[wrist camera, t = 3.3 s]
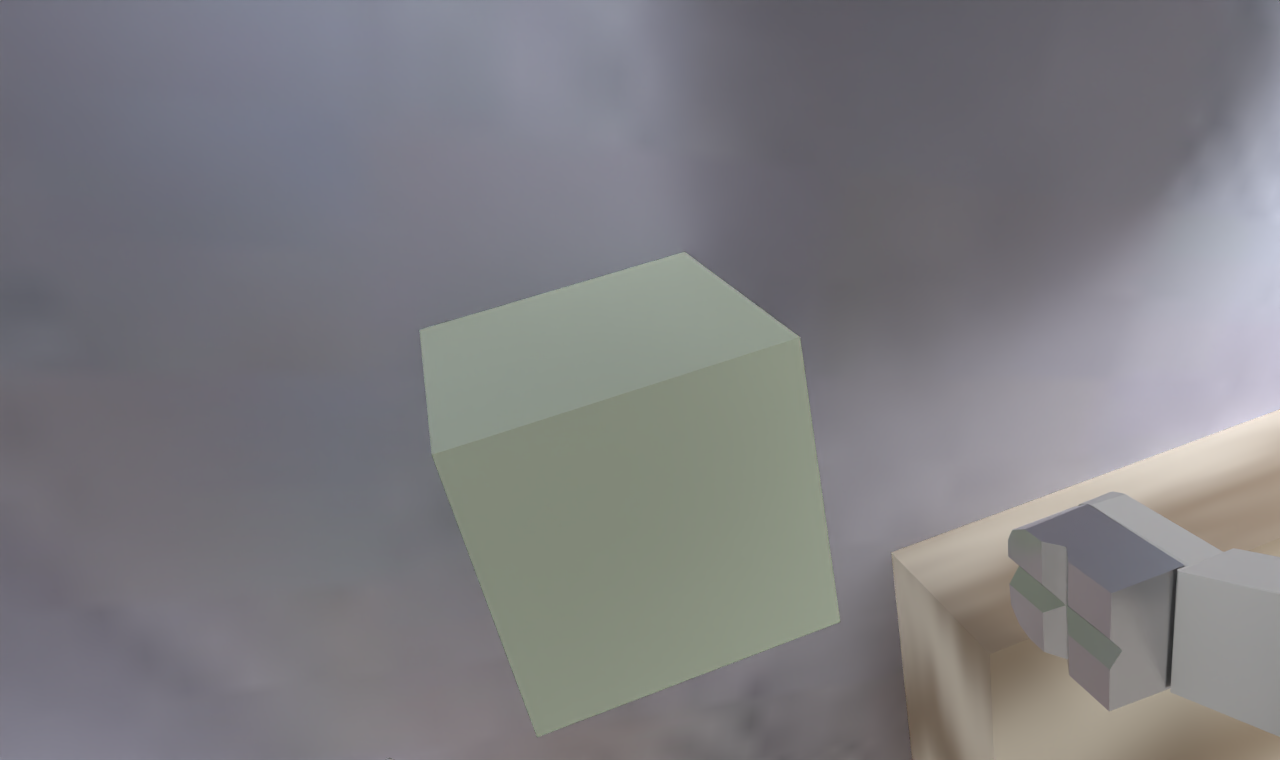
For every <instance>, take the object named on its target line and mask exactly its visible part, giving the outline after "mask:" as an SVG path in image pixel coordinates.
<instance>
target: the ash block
mask: <svg viewBox="0 0 1280 760" xmlns="http://www.w3.org/2000/svg"><path fill="white" fill-rule="evenodd" d="M1112 491H1113V492H1119V493H1123V494H1126V495H1128V496H1129V497H1131V498H1133V499H1135V500H1136V501H1138V502H1140V503H1141V504H1143V505H1145V506H1146V507H1148V508H1150V509H1151V510H1153V511H1155V512H1157V513H1158V514H1160V515H1162V516H1163V517H1165V518H1167V519H1168V520H1170V521H1172V522H1173V523H1175V524H1177V525H1179V526H1180V527H1182V528H1184V529H1185V530H1187V531H1189V532H1190V533H1192V534H1194V535H1195V536H1197V537H1199V538H1201V539H1202V540H1204V541H1206V542H1207V543H1209V544H1211V545H1212V546H1214V547H1216V548H1217V549H1219V550H1221V551H1223V552H1225V551H1228V550H1230V549H1233V548H1235V549H1241V550H1246V551H1251V552H1256V553H1261V554H1266V555H1272V556H1277V557H1280V409H1279V410H1277V411H1274V412H1271V413H1268V414H1266V415H1263V416H1260V417H1258V418H1255V419H1252V420H1249V421H1247V422H1244V423H1241V424H1239V425H1236V426H1233V427H1230V428H1228V429H1225V430H1222V431H1220V432H1217V433H1214V434H1211V435H1209V436H1206V437H1203V438H1200V439H1198V440H1195V441H1192V442H1190V443H1187V444H1184V445H1181V446H1179V447H1176V448H1173V449H1171V450H1168V451H1165V452H1162V453H1160V454H1157V455H1154V456H1152V457H1149V458H1146V459H1143V460H1141V461H1138V462H1135V463H1133V464H1130V465H1127V466H1124V467H1122V468H1119V469H1116V470H1114V471H1111V472H1108V473H1105V474H1103V475H1100V476H1097V477H1095V478H1092V479H1089V480H1086V481H1084V482H1081V483H1078V484H1076V485H1073V486H1070V487H1067V488H1065V489H1062V490H1059V491H1057V492H1054V493H1051V494H1048V495H1046V496H1043V497H1040V498H1037V499H1035V500H1032V501H1029V502H1027V503H1024V504H1021V505H1018V506H1016V507H1013V508H1010V509H1008V510H1005V511H1002V512H999V513H997V514H994V515H991V516H989V517H986V518H983V519H980V520H978V521H975V522H972V523H970V524H967V525H964V526H961V527H959V528H956V529H953V530H951V531H948V532H945V533H942V534H940V535H937V536H934V537H932V538H929V539H926V540H923V541H921V542H918V543H915V544H913V545H910V546H907V547H904V548H902V549H899V550H896V551H894V552H891V556H892V566H893V575H894V585H895V595H896V605H897V615H898V625H899V635H900V645H901V655H902V665H903V675H904V685H905V695H906V705H907V715H908V725H909V735H910V745H911V755H912V760H1280V737H1279V736H1276V735H1274V734H1271V733H1269V732H1266V731H1264V730H1262V729H1259V728H1257V727H1254V726H1252V725H1249V724H1247V723H1244V722H1242V721H1240V720H1237V719H1235V718H1232V717H1230V716H1227V715H1225V714H1222V713H1220V712H1218V711H1215V710H1213V709H1210V708H1208V707H1205V706H1203V705H1200V704H1198V703H1196V702H1193V701H1191V700H1188V699H1186V698H1183V697H1181V696H1178V695H1176V694H1174V693H1171V692H1170V689H1167V690H1165V691H1162V692H1159V693H1157V694H1154V695H1151V696H1149V697H1146V698H1144V699H1141V700H1138V701H1136V702H1133V703H1130V704H1128V705H1125V706H1122V707H1120V708H1117V709H1114V710H1112V711H1108V710H1107V709H1106V708H1105V707H1104V706H1103V705H1101V704H1100V703H1099V702H1098V701H1097V700H1096V699H1095V698H1094V697H1093V696H1092V695H1090V694H1089V693H1088V692H1087V691H1086V690H1085V689H1084V688H1083V687H1082V686H1080V685H1079V684H1078V683H1077V682H1076V681H1075V680H1074V679H1073V678H1072V677H1071V676H1069V670H1068V663H1067V659H1064V658H1061V657H1058V656H1055V655H1052V654H1049V653H1046V652H1043V651H1042V650H1041V649H1040V648H1039V647H1038V646H1037V645H1036V644H1035V643H1034V642H1033V641H1032V640H1031V639H1030V638H1029V637H1028V635H1027V634H1026V633H1025V631H1024V630H1023V629H1022V627H1021V626H1020V624H1019V622H1018V620H1017V617H1016V615H1015V613H1014V610H1013V608H1012V605H1011V597H1010V586H1009V584H1010V582H1011V580H1012V578H1013V576H1014V574H1015V572H1016V571H1017V569H1018V567H1019V566H1018V565H1017V564H1016V563H1015V562H1014V561H1013V560H1012V559H1011V558H1009V557H1008V539H1009V536H1010V534H1011V531H1012V530H1013V529H1016V528H1019V527H1021V526H1024V525H1027V524H1029V523H1032V522H1034V521H1037V520H1040V519H1042V518H1045V517H1048V516H1050V515H1053V514H1056V513H1058V512H1061V511H1064V510H1066V509H1069V508H1072V507H1075V506H1078V505H1079V504H1081V503H1083V502H1086V501H1088V500H1091V499H1094V498H1096V497H1099V496H1101V495H1104V494H1107V493H1109V492H1112Z"/></svg>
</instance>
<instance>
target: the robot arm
mask: <svg viewBox="0 0 1280 760" xmlns="http://www.w3.org/2000/svg"><path fill="white" fill-rule="evenodd" d="M1008 557H1009V558H1011V559H1012V560H1013V561H1014V562H1015V563H1016V564H1017V565H1018V566H1019V567H1018V569H1017V571H1016V572H1015V574H1014V576H1013V578H1012V580H1011V582H1010V584H1009V586H1010V597H1011V605H1012V608H1013V610H1014V613H1015V615H1016V617H1017V620H1018V622H1019V624H1020V626H1021V627H1022V629H1023V630H1024V631H1025V633H1026V634H1027V635H1028V637H1029V638H1030V639H1031V640H1032V641H1033V642H1034V643H1035V644H1036V645H1037V646H1038V647H1039V648H1040V649H1041V650H1042V651H1043V652H1046V653H1049V654H1052V655H1055V656H1058V657H1061V658H1064V659H1067V663H1068V670H1069V676H1071V677H1072V678H1073V679H1074V680H1075V681H1076V682H1077V683H1078V684H1079V685H1080V686H1082V687H1083V688H1084V689H1085V690H1086V691H1087V692H1088V693H1089V694H1090V695H1092V696H1093V697H1094V698H1095V699H1096V700H1097V701H1098V702H1099V703H1100V704H1101V705H1103V706H1104V707H1105V708H1106V709H1107V710H1108V711H1112V710H1114V709H1117V708H1120V707H1122V706H1125V705H1128V704H1130V703H1133V702H1136V701H1138V700H1141V699H1144V698H1146V697H1149V696H1151V695H1154V694H1157V693H1159V692H1162V691H1165V690H1167V689H1170V692H1171V693H1174V694H1176V695H1178V696H1181V697H1183V698H1186V699H1188V700H1191V701H1193V702H1196V703H1198V704H1200V705H1203V706H1205V707H1208V708H1210V709H1213V710H1215V711H1218V712H1220V713H1222V714H1225V715H1227V716H1230V717H1232V718H1235V719H1237V720H1240V721H1242V722H1244V723H1247V724H1249V725H1252V726H1254V727H1257V728H1259V729H1262V730H1264V731H1266V732H1269V733H1271V734H1274V735H1276V736H1279V737H1280V557H1277V556H1272V555H1266V554H1261V553H1256V552H1251V551H1246V550H1241V549H1235V548H1233V549H1230V550H1228V551H1225V552H1223V551H1221V550H1219V549H1217V548H1216V547H1214V546H1212V545H1211V544H1209V543H1207V542H1206V541H1204V540H1202V539H1201V538H1199V537H1197V536H1195V535H1194V534H1192V533H1190V532H1189V531H1187V530H1185V529H1184V528H1182V527H1180V526H1179V525H1177V524H1175V523H1173V522H1172V521H1170V520H1168V519H1167V518H1165V517H1163V516H1162V515H1160V514H1158V513H1157V512H1155V511H1153V510H1151V509H1150V508H1148V507H1146V506H1145V505H1143V504H1141V503H1140V502H1138V501H1136V500H1135V499H1133V498H1131V497H1129V496H1128V495H1126V494H1123V493H1119V492H1113V491H1112V492H1109V493H1107V494H1104V495H1101V496H1099V497H1096V498H1094V499H1091V500H1088V501H1086V502H1083V503H1081V504H1079V505H1078V506H1075V507H1072V508H1069V509H1066V510H1064V511H1061V512H1058V513H1056V514H1053V515H1050V516H1048V517H1045V518H1042V519H1040V520H1037V521H1034V522H1032V523H1029V524H1027V525H1024V526H1021V527H1019V528H1016V529H1013V530H1012V531H1011V534H1010V536H1009V539H1008ZM385 760H394V759H392V758H388V759H385Z"/></svg>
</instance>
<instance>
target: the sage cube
mask: <svg viewBox="0 0 1280 760" xmlns="http://www.w3.org/2000/svg"><path fill="white" fill-rule="evenodd" d="M419 331H420V342H421V352H422V362H423V372H424V383H425V393H426V403H427V414H428V424H429V434H430V445H431V455H432V458H433V460H434V463H435V466H436V468H437V471H438V474H439V476H440V479H441V482H442V484H443V487H444V490H445V492H446V495H447V498H448V500H449V503H450V506H451V508H452V511H453V514H454V516H455V519H456V522H457V524H458V527H459V530H460V533H461V535H462V538H463V541H464V543H465V546H466V549H467V551H468V554H469V557H470V559H471V562H472V565H473V567H474V570H475V573H476V575H477V578H478V581H479V583H480V586H481V589H482V591H483V594H484V597H485V599H486V602H487V605H488V607H489V610H490V613H491V616H492V618H493V621H494V624H495V626H496V629H497V632H498V634H499V637H500V640H501V642H502V645H503V648H504V650H505V653H506V656H507V658H508V661H509V664H510V666H511V669H512V672H513V674H514V677H515V680H516V682H517V685H518V688H519V691H520V693H521V696H522V699H523V701H524V704H525V707H526V709H527V712H528V715H529V717H530V720H531V723H532V725H533V728H534V731H535V733H536V736H537V737H540V736H543V735H545V734H548V733H551V732H553V731H556V730H558V729H561V728H564V727H566V726H569V725H572V724H574V723H577V722H579V721H582V720H585V719H587V718H590V717H593V716H595V715H598V714H600V713H603V712H606V711H608V710H611V709H614V708H616V707H619V706H621V705H624V704H627V703H629V702H632V701H635V700H637V699H640V698H642V697H645V696H648V695H650V694H653V693H656V692H658V691H661V690H663V689H666V688H669V687H671V686H674V685H677V684H679V683H682V682H684V681H687V680H690V679H692V678H695V677H698V676H700V675H703V674H705V673H708V672H711V671H713V670H716V669H719V668H721V667H724V666H726V665H729V664H732V663H734V662H737V661H740V660H742V659H745V658H747V657H750V656H753V655H755V654H758V653H761V652H763V651H766V650H768V649H771V648H774V647H776V646H779V645H782V644H784V643H787V642H789V641H792V640H795V639H797V638H800V637H803V636H805V635H808V634H811V633H813V632H816V631H818V630H821V629H824V628H826V627H829V626H832V625H834V624H837V623H839V622H840V616H839V609H838V602H837V595H836V588H835V580H834V573H833V566H832V559H831V552H830V545H829V538H828V531H827V524H826V517H825V510H824V503H823V496H822V489H821V482H820V474H819V467H818V460H817V453H816V446H815V439H814V432H813V425H812V418H811V411H810V404H809V397H808V390H807V383H806V375H805V368H804V361H803V354H802V347H801V340H800V337H799V336H798V335H796V334H795V333H794V332H792V331H791V330H790V329H788V328H787V327H786V326H784V325H783V324H782V323H780V322H779V321H778V320H776V319H775V318H773V317H772V316H771V315H769V314H768V313H767V312H765V311H764V310H763V309H761V308H760V307H759V306H757V305H756V304H755V303H753V302H752V301H750V300H749V299H748V298H746V297H745V296H744V295H742V294H741V293H740V292H738V291H737V290H736V289H734V288H733V287H732V286H730V285H729V284H727V283H726V282H725V281H723V280H722V279H721V278H719V277H718V276H717V275H715V274H714V273H713V272H711V271H710V270H709V269H707V268H706V267H704V266H703V265H702V264H700V263H699V262H698V261H696V260H695V259H694V258H692V257H691V256H690V255H688V254H687V253H686V252H682V253H678V254H675V255H671V256H668V257H665V258H661V259H658V260H654V261H651V262H648V263H644V264H641V265H637V266H634V267H631V268H627V269H624V270H620V271H617V272H614V273H610V274H607V275H604V276H600V277H597V278H593V279H590V280H587V281H583V282H580V283H576V284H573V285H570V286H566V287H563V288H559V289H556V290H553V291H549V292H546V293H542V294H539V295H536V296H532V297H529V298H525V299H522V300H519V301H515V302H512V303H508V304H505V305H502V306H498V307H495V308H491V309H488V310H485V311H481V312H478V313H475V314H471V315H468V316H464V317H461V318H458V319H454V320H451V321H447V322H444V323H441V324H437V325H434V326H430V327H427V328H424V329H420V330H419Z"/></svg>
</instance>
